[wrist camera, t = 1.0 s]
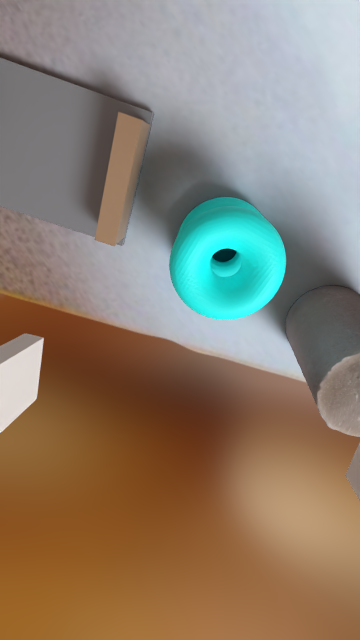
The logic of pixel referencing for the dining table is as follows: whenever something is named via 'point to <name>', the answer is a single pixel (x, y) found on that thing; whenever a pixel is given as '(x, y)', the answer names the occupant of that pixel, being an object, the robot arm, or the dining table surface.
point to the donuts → (231, 276)
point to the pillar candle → (329, 352)
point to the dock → (69, 153)
